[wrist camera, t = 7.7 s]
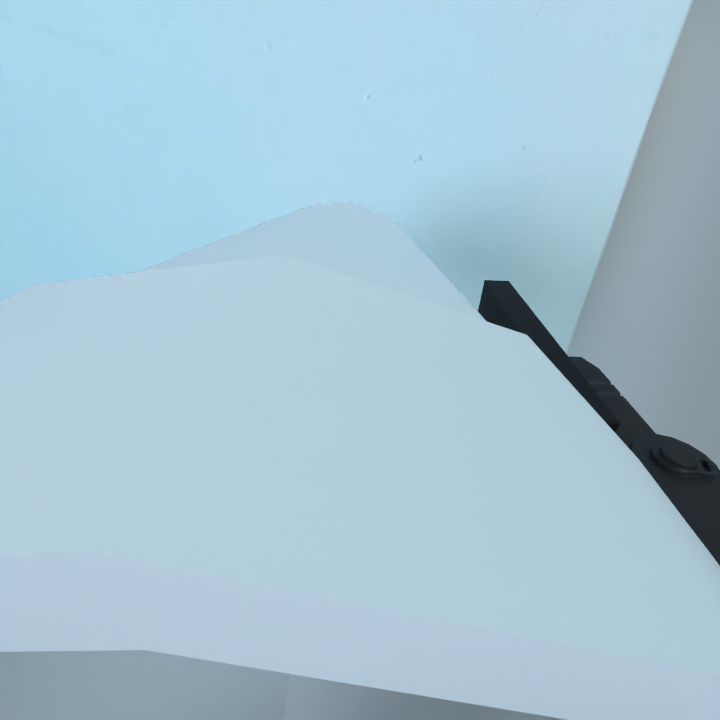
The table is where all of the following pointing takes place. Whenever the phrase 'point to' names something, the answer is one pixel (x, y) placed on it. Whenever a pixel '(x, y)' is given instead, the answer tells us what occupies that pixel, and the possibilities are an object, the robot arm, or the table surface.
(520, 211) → the table surface
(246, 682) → the foam cup
